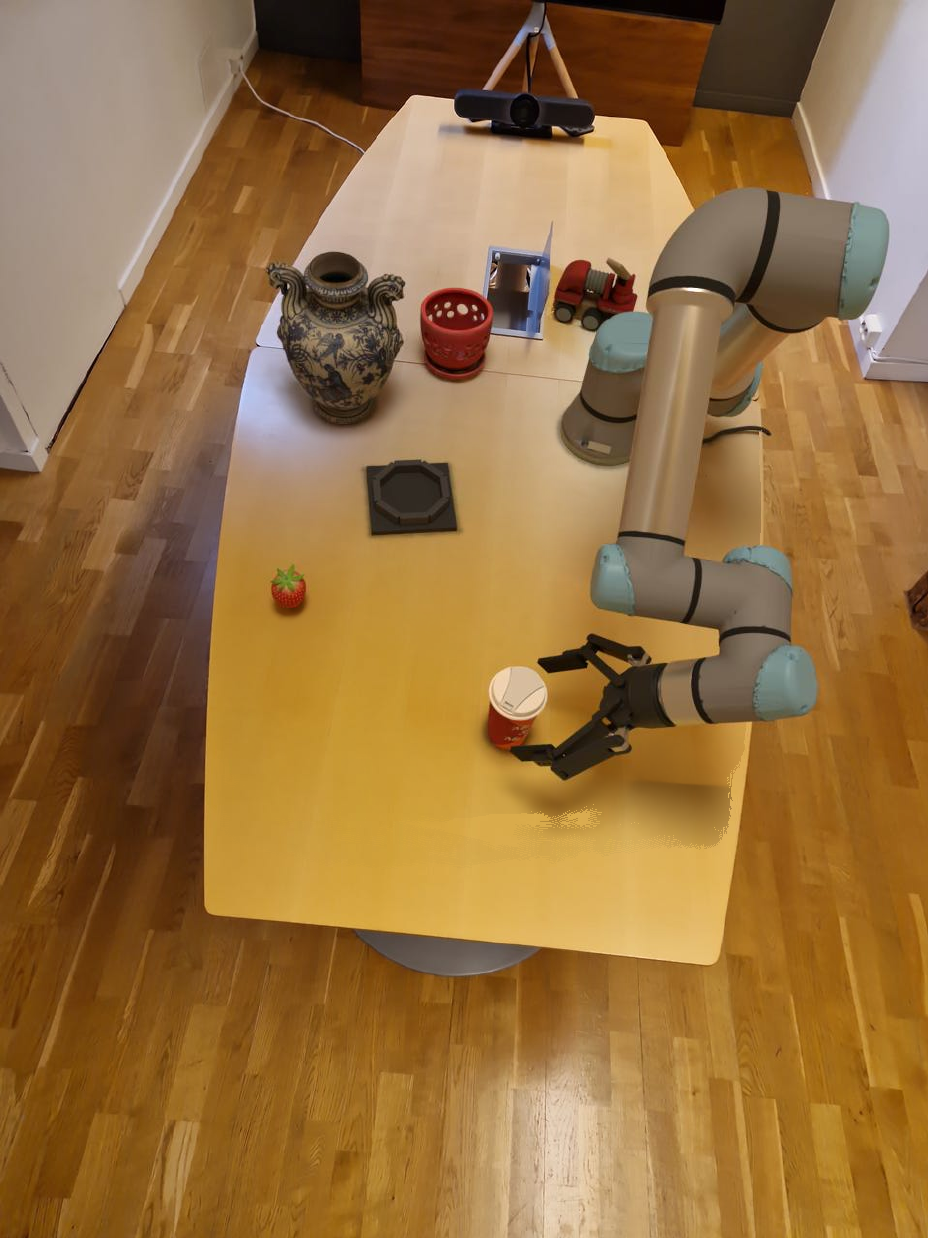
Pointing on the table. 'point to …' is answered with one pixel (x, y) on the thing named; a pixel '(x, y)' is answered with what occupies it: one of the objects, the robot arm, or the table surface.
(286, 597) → the fruit
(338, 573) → the table surface
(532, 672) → the paper cup
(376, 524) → the pad
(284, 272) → the decorative vase
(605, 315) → the toy fire truck
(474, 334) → the plant pot
